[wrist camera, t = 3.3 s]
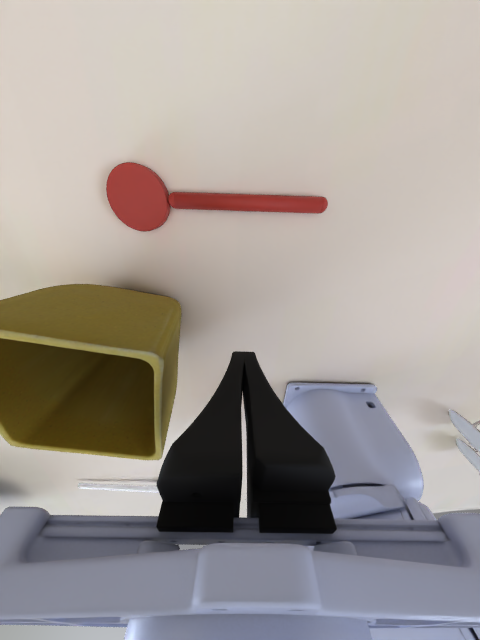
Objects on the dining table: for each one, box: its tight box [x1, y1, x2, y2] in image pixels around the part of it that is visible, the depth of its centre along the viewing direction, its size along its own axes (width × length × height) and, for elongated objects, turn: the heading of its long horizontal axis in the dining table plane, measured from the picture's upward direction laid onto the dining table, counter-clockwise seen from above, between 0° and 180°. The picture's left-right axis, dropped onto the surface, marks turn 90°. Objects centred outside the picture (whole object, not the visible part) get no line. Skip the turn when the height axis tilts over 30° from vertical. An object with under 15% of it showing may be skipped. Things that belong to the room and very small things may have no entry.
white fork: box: [78, 483, 159, 493], centre depth 34 cm, size 3×20×2 cm, turn 89°
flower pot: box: [0, 284, 181, 460], centre depth 14 cm, size 9×9×9 cm
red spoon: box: [106, 162, 328, 231], centre depth 13 cm, size 14×4×1 cm, turn 88°
